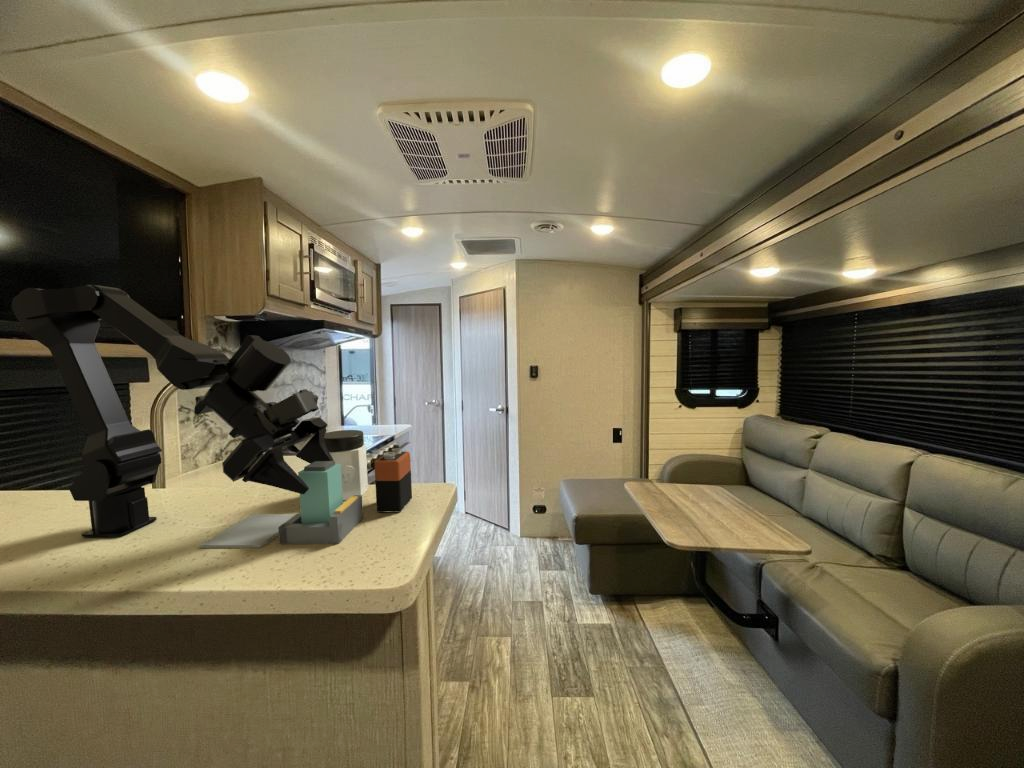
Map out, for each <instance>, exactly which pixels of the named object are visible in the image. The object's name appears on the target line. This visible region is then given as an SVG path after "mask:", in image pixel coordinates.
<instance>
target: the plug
mask: <svg viewBox="0 0 1024 768" xmlns="http://www.w3.org/2000/svg"><path fill="white" fill-rule="evenodd" d="M297 475H298V476H299V477H300V478H301V479H302V480H303V481H304V483H305V484H306V485H307V486H308V488H309V490H308V491H307V492H306V493H305V494H299V504H300V506H299V507H300V511H301V522H302V524H324V523H329V517H330V516H331V515H332V514H333V513H334V511H335V510H336V509H337V508H338V507H340V506H341V505H342V504H343V503H344V501H343V495H342V478H341V464H335V461H315V462H313V463H311V464H310V463H309V464H308V465H306V466H304V467H303V469H302V470H300V471H298V473H297Z"/></svg>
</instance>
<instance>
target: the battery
mask: <svg viewBox="0 0 1024 768" xmlns="http://www.w3.org/2000/svg"><path fill="white" fill-rule="evenodd" d="M411 464H412V463H411V453H410V452H409V451H401V448H399V447H398V448H397V447H396V448H392V449H391V451H387V452H384V453H383V455H382V456H380V457H379V458H377V459H376V460H375V461H374V463H373V465H374V482H375V501H376V511H377V512H378V511H400V512H401V511H402V510H403V509H404V508H405V507H406V506H407V504H409V502H410V501H411V500H410V499H413V494H412V493H413V489H412V487H413V486H412V471H411V470H412V467H411ZM405 505H406V506H405ZM404 506H405V507H404Z"/></svg>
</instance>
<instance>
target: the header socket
mask: <svg viewBox="0 0 1024 768" xmlns="http://www.w3.org/2000/svg"><path fill="white" fill-rule="evenodd" d="M363 511H364V508H363V495H354V496H351V497H350V498H349V499H348V500H345V501H343V504H342V505H341V506H340V507H338V508H337V509H336V510H335V511H334V513H333V514H332V515H331V516H330V517H329V523H324V524H302V522H301V510H300V511H299V512H298V513H295V514H296V515H295V516H293V517H292V518H291V519H289V520H288V521H286V522H285V523H284V524H282V525H281V526H279V527H278V531H279V534H278V542H279V545H285V544H286V545H293V544H294V545H300V544H301V545H303V544H305V545H306V544H307V545H308V544H309V545H311V544H313V545H318V544H320V545H323V544H324V545H325V544H326V545H327V544H331V545H333V544H335V545H336V544H340V543H341V542H342V541H343V539H345V538H346V537H347V536H348V535H349V534H350V533H351V531H352V530H354V528H355V527H356V526H357V525H358V524H359V523H360V522H362V520H363V519H364V512H363ZM362 518H363V519H362ZM361 519H362V520H361ZM358 522H359V523H358ZM347 534H348V535H347Z"/></svg>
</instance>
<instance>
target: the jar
mask: <svg viewBox="0 0 1024 768" xmlns="http://www.w3.org/2000/svg"><path fill="white" fill-rule="evenodd" d="M364 439H365V437H364V432H363V431H361V430H357V429H343V430H333V431H329V432H328V431H326V433H325V436H324V443H325V445H326V447H327V449H328V451H329V453H330V455H331V457H332V458H333V460H334V461H335V464H341V478H342V495H343V502H345V501H347V500H348V499H349V498H350V497H351V496H354V495H362V496H363V495H364V494H365V493H366V492H367V490H368V489H369V481H368V480H369V479H368V465H367V462H368V460H367V445H366V443H365V441H364ZM365 486H368V487H365ZM367 488H368V489H367Z"/></svg>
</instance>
